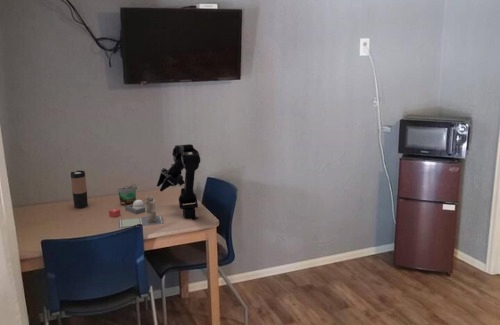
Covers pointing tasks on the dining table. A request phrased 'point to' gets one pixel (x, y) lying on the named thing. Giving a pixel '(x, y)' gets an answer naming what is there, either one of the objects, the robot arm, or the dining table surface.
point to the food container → (127, 195)
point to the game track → (139, 222)
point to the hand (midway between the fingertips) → (158, 188)
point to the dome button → (138, 204)
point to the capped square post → (150, 209)
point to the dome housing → (133, 210)
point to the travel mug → (79, 189)
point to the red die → (114, 213)
